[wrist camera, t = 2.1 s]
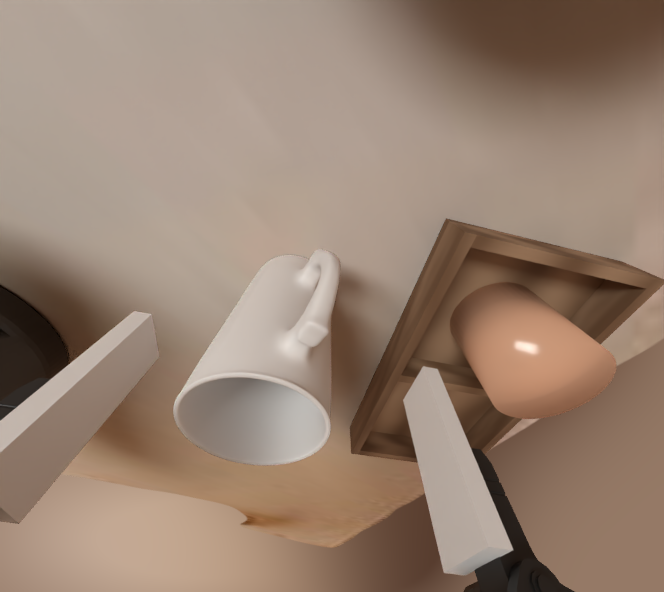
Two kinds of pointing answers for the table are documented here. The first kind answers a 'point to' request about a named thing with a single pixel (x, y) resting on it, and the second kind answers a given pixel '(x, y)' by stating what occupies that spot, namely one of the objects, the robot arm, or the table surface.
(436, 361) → the divided wooden tray
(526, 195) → the table surface
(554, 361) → the brown egg
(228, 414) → the mug
